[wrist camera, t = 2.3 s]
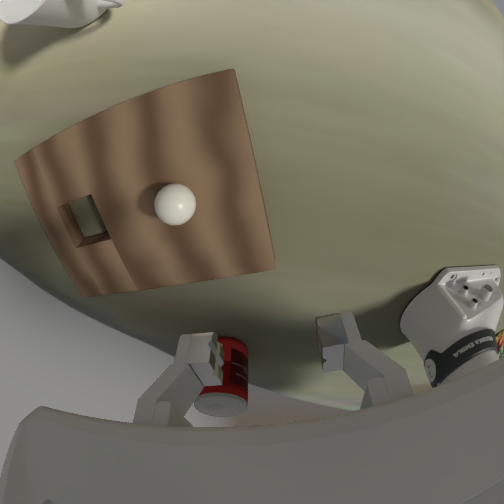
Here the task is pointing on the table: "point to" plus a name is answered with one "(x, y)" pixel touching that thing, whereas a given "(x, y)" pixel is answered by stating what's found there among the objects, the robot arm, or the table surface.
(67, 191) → the board
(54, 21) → the mug
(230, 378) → the canned food
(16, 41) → the table surface
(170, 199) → the ball
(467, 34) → the table surface
